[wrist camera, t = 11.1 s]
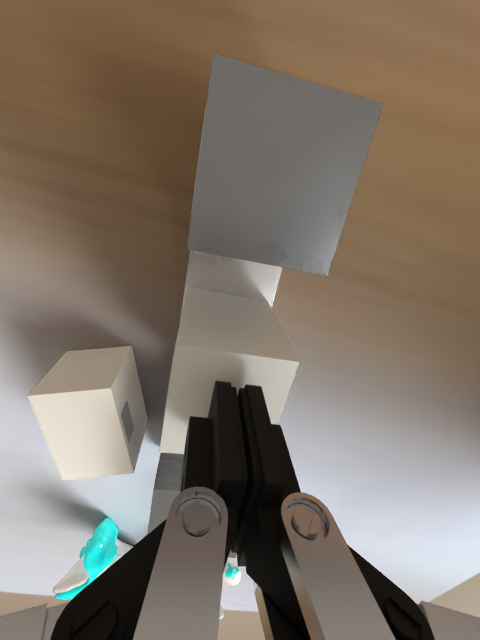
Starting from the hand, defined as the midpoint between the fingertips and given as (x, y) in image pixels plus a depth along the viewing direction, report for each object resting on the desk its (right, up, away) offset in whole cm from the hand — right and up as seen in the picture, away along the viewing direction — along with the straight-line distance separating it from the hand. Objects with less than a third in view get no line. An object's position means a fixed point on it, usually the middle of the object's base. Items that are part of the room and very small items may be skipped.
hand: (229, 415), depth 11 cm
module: (-1, +3, +6) cm, 7 cm away
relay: (-8, -1, +9) cm, 12 cm away
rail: (-1, +3, +8) cm, 8 cm away
